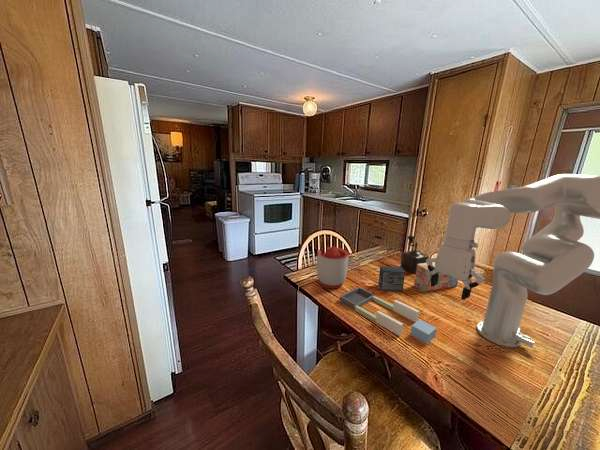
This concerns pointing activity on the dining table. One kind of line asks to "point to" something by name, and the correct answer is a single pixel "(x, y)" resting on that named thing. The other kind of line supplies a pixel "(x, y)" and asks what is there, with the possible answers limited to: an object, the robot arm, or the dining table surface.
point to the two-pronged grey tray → (363, 296)
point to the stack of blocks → (425, 277)
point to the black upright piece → (412, 258)
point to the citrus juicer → (332, 267)
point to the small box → (391, 278)
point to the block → (423, 331)
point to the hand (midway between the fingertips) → (448, 291)
